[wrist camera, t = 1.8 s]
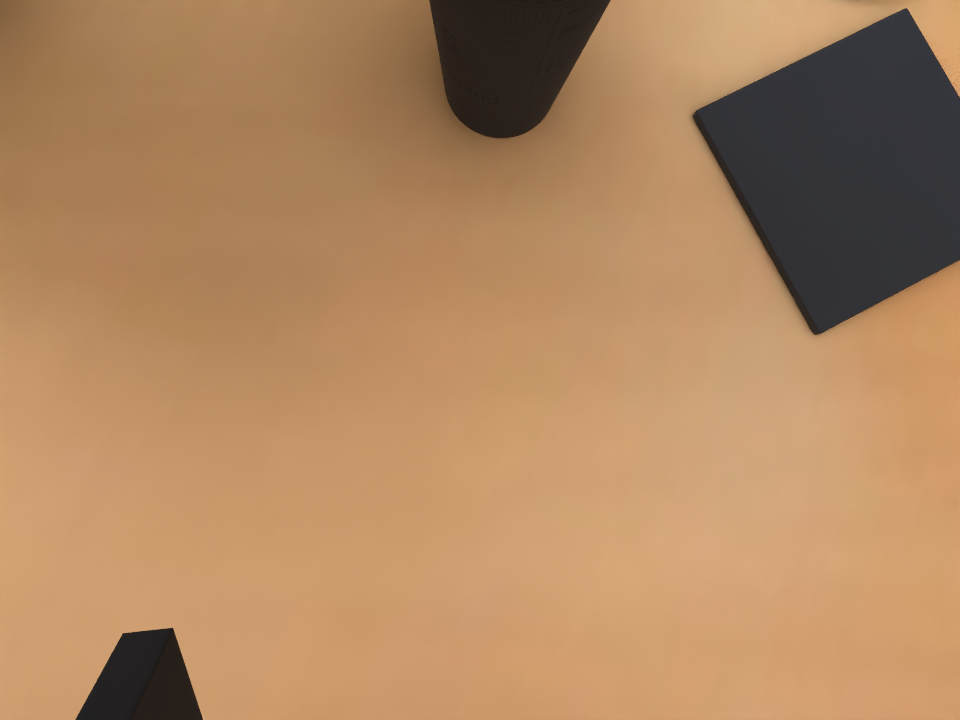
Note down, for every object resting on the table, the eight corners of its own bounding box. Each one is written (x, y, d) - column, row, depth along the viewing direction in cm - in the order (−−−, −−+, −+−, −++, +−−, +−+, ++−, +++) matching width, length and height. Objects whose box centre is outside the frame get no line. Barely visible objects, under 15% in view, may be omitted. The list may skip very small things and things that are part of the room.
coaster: (691, 115, 35) (696, 110, 34) (899, 14, 36) (907, 7, 36) (814, 335, 34) (820, 333, 34) (1022, 224, 35) (1032, 221, 35)
